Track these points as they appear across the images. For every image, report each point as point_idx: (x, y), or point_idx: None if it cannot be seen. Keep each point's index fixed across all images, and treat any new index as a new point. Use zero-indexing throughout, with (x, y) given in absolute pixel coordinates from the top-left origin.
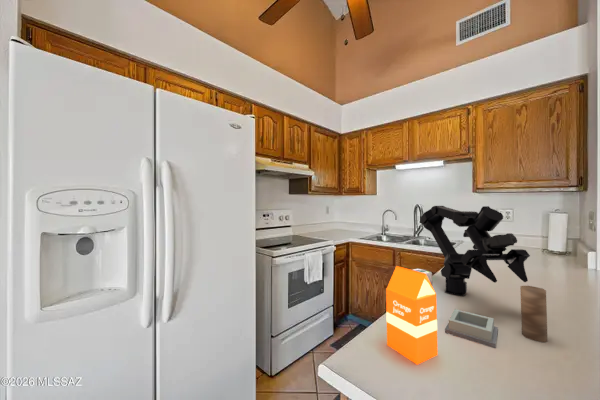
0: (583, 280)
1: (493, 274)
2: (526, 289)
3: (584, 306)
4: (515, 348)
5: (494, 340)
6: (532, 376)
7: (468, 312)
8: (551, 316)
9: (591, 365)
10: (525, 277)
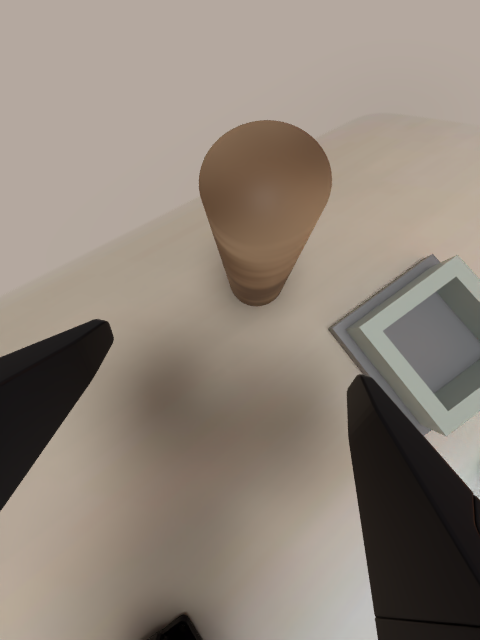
0: None
1: (388, 425)
2: (328, 174)
3: None
4: (369, 247)
5: (417, 269)
6: (438, 163)
7: (414, 392)
8: None
9: None
10: (83, 332)
